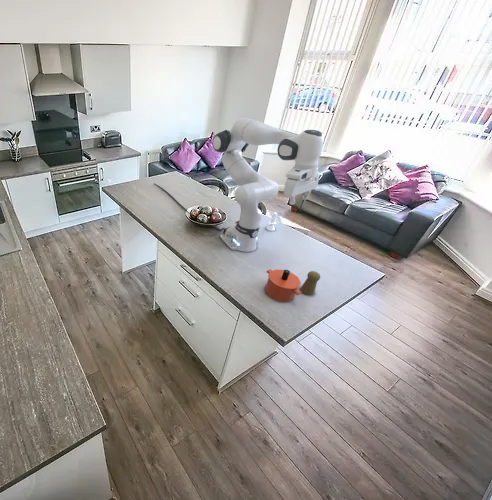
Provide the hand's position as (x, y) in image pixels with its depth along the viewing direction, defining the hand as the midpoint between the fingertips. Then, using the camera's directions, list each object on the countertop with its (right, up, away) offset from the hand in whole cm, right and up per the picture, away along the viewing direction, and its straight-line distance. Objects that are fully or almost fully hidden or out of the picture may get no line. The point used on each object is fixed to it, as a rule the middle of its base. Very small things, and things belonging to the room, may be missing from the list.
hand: (298, 201), depth 130 cm
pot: (-5, -42, +7) cm, 43 cm away
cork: (+8, -42, +8) cm, 43 cm away
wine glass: (+13, -8, +57) cm, 59 cm away
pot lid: (-5, -35, +2) cm, 36 cm away
